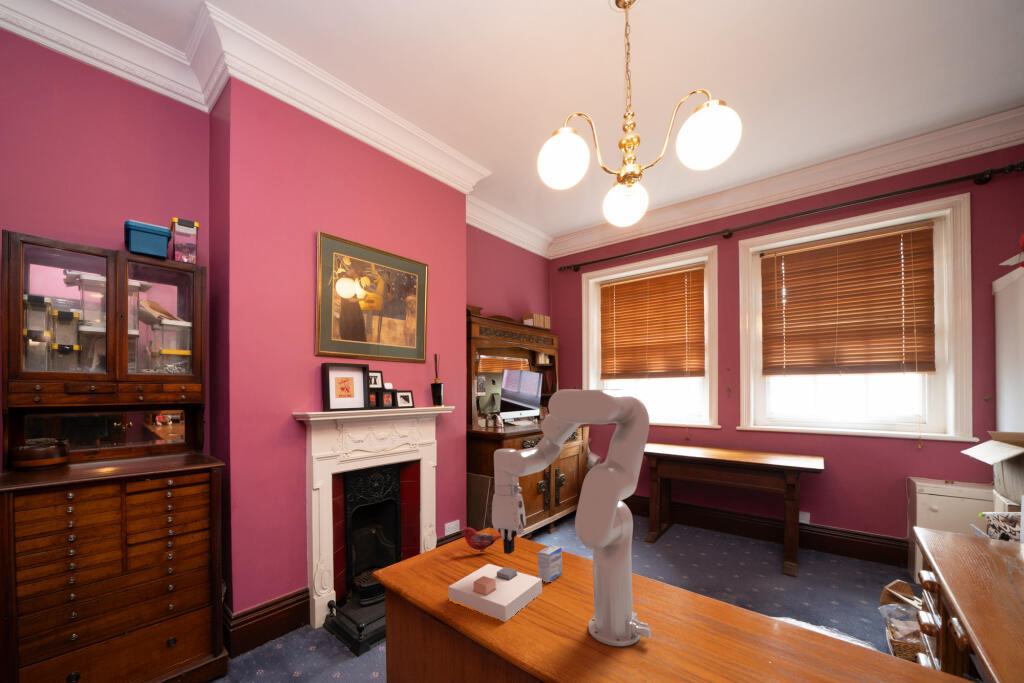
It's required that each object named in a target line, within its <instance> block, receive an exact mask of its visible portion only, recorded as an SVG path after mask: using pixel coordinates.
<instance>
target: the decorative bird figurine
mask: <svg viewBox="0 0 1024 683" xmlns="http://www.w3.org/2000/svg"><path fill="white" fill-rule="evenodd" d="M461 535H462V536H463V537H464V539H465V541H466V544H467V545H468V546H469V547H470V548H471V549H474V550H475V551H479V552H484V550H486V549H487V548H489V547H490V546H492V545H494V544H495V543H496V541H497V540H499V539H502V538H501V535H500V534H499V535H493V534H492V535H491V534H490V533H489V534H488V533H484V532H480V531H477V530H475V529H474V528H473V527H470V526H467V527H465V528H464V530H463V531H462V532H461Z"/></svg>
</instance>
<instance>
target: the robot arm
mask: <svg viewBox="0 0 1024 683" xmlns="http://www.w3.org/2000/svg"><path fill="white" fill-rule="evenodd" d="M548 400H549V401H548V405H547V407H548V408H547V409H548V412H549V413H548V414H547V416H546V417H545V418H544V419H543V420H542V421H541V424H540V427H541V428H540V429H541V431H542V433H543V435H544V436H543V437H542V439H541V440H540V441H539V442H538V443H537V444H536V445H535V446H534V447H529V448H524V449H518V450H516V449H515V448H499V449H496V450H495V451H494V452H493V467H494V468H493V470H494V474H493V475H494V494H493V495H492V496H493V498H492V502H491V503H492V504H491V524H492V526H493V530H494V531H496V532H498V533H499V535H501V538H500V539H502V540H503V541H502V542H503V545H502V546H503V553H504V554H507V555H510V554H512V553H514V552H515V538H516V537H517V536H518V535H523V534H525V530H524V527H526V524H527V521H526V520H527V518H526V510H525V504H524V498H523V494H521V493H522V491H523V487H520V484H519V481H520V480H519V477H524V476H528V475H529V476H530V475H532V474H536V473H540V472H542V471H544V470H545V469H546V468H548V467H549V466H550V465H551V464H552V463H553V462H554V461H555V460H556V459H557V458H558V457H559V455H560V454H561V452H562V450H563V448H564V444H565V442H566V441H567V440H568V439H569V438H570V437H571V435H572V434H574V432H575V431H576V430H577V429H578V428H579V427H580V426H581V425H582V424H584V425H585V424H586V425H587V424H588V425H590V424H591V425H608V424H609V425H610V424H616V427H615V430H614V432H613V433H612V437H610V438H611V440H610V443H609V446H608V447H609V448H608V451H607V455H606V459H605V461H604V462H602V463H599V464H597V465H594V466H593V467H591V468H590V469H589V470H588V472H587V473H586V474H585V477H584V479H583V482H582V486H581V491H580V496H579V500H578V504H577V509H576V514H575V519H574V522H575V523H574V529H575V533H576V536H577V539H578V541H579V542H580V543H581V545H583V546H584V547H585V548H586V549H590V550H592V575H593V579H592V580H593V581H592V582H593V607H594V608H593V611H594V616H593V617H592V618H591V619H590V620H589V622H588V632H589V634H590V635H591V636H592V638H594V639H595V640H596V641H599V642H600V643H602V644H604V645H607V646H612V647H627V646H632V645H633V644H635V643H637V642H638V641H639V640H640V639H641V637H644V638H647V639H651V635H652V629H651V628H650V627H649V626H650V625H649V623H647V622H643V621H640V620H639V619H638V613H637V612H634V605H633V604H634V601H633V600H634V599H633V598H634V597H633V596H634V594H633V574H632V572H633V571H632V568H633V567H632V543H633V542H632V541H633V530H634V521H633V514H632V511H631V510H630V508H629V507H628V505H627V504H626V503H625V502H624V501H623V500H625V499H627V498H629V497H631V496H632V495H633V494H635V491H636V489H637V487H638V481H639V477H640V472H641V467H642V464H643V463H642V462H643V460H644V459H643V458H644V452H645V448H646V445H647V441H648V438H649V437H648V436H649V432H650V416H649V413H648V410H647V408H646V405H645V404H644V403H643V401H642V400H641V399H640V398H639V397H638V396H637V395H636V394H634V393H632V392H631V391H629V390H625V389H618V388H617V389H616V388H615V389H614V388H613V389H612V388H611V389H578V388H577V389H574V388H573V389H572V388H569V389H568V388H567V389H566V388H565V389H563V388H562V389H558V390H557V391H556V392H554V393H553V394H552V395H551V397H550V398H549V399H548Z"/></svg>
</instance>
